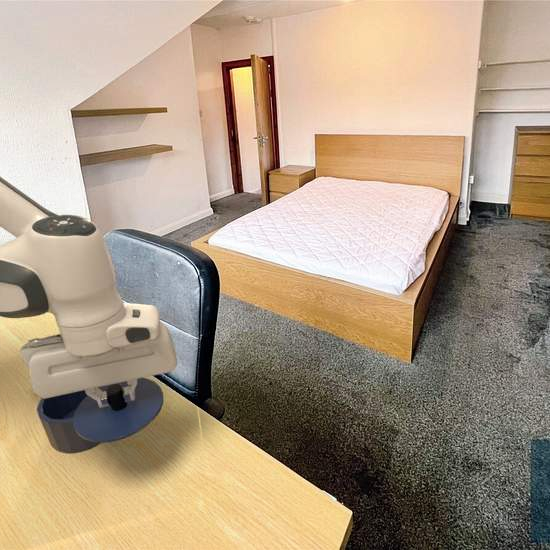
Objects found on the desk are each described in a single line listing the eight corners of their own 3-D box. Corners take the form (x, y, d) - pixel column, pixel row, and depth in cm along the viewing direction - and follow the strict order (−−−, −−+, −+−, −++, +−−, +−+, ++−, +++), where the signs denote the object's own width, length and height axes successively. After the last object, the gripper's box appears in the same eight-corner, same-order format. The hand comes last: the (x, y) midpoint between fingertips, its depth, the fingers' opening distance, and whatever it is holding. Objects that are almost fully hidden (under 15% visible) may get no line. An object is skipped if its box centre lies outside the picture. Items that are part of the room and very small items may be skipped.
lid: (67, 455, 58) (57, 432, 56) (82, 392, 70) (74, 370, 68) (165, 432, 61) (159, 409, 59) (163, 374, 73) (158, 353, 70)
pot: (42, 461, 72) (28, 430, 69) (57, 410, 83) (46, 382, 80) (117, 443, 75) (107, 412, 71) (122, 396, 86) (113, 368, 82)
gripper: (8, 356, 53) (42, 432, 59) (168, 325, 57) (183, 400, 64) (22, 330, 59) (51, 402, 65) (166, 304, 63) (181, 374, 69)
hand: (118, 401), depth 64 cm, fingers closed on lid, 2 cm apart
